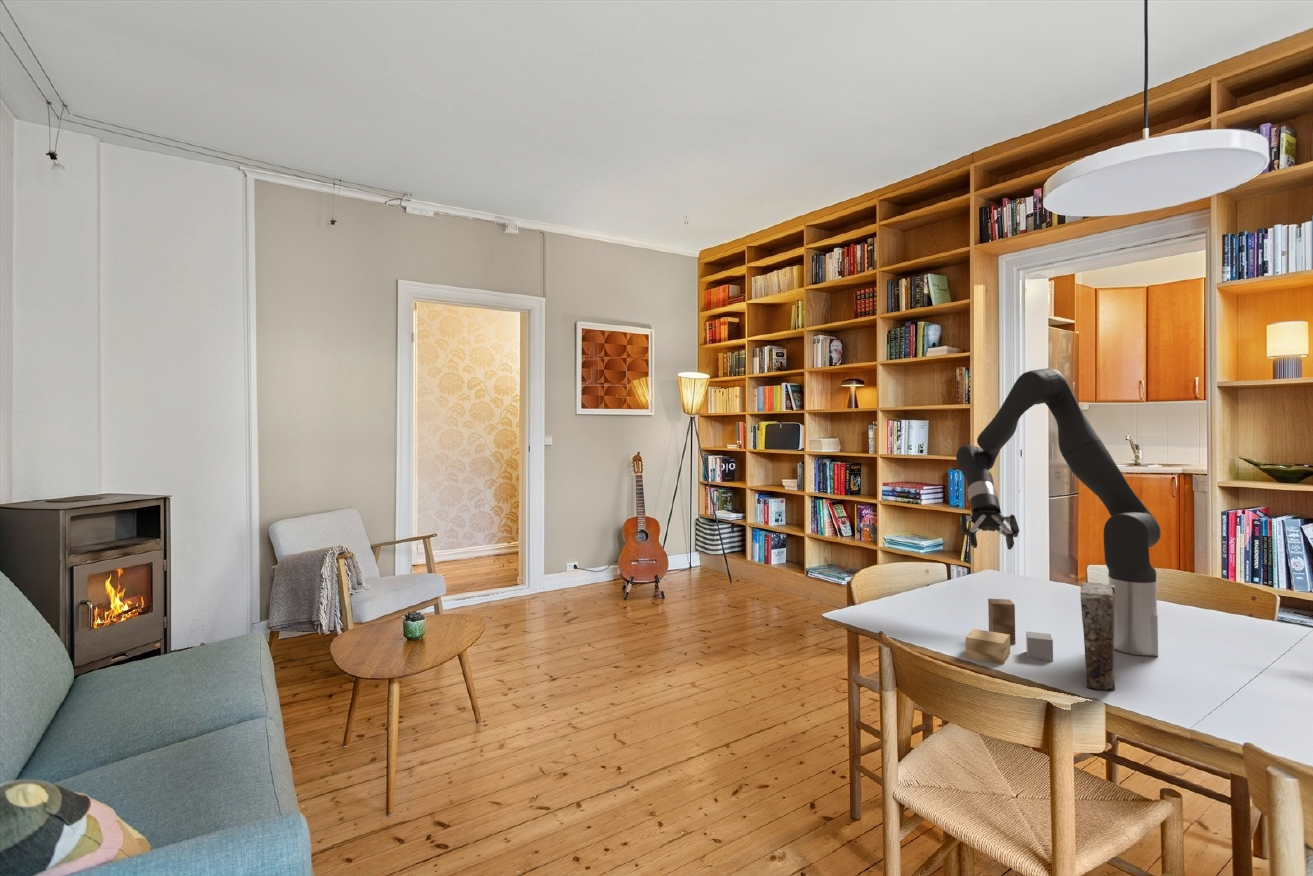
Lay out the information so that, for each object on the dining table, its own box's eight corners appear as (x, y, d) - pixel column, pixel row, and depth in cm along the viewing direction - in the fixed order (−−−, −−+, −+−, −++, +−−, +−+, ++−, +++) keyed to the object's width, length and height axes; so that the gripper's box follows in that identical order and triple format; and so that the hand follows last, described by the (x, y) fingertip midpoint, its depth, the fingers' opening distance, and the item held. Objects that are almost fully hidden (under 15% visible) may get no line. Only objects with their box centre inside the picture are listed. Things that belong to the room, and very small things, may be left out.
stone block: (1078, 668, 142) (1076, 579, 142) (1116, 673, 139) (1114, 582, 139) (1082, 689, 131) (1080, 592, 131) (1124, 695, 127) (1122, 596, 127)
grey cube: (1050, 654, 151) (1050, 634, 151) (1053, 661, 147) (1052, 640, 147) (1026, 652, 153) (1026, 631, 153) (1028, 658, 149) (1027, 637, 149)
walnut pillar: (1010, 638, 164) (1009, 599, 164) (1015, 644, 159) (1014, 604, 159) (988, 636, 165) (988, 598, 165) (993, 643, 160) (992, 603, 160)
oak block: (1010, 655, 152) (1009, 634, 152) (1003, 665, 146) (1003, 643, 146) (973, 648, 157) (973, 628, 157) (966, 658, 151) (965, 637, 151)
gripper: (958, 491, 183) (966, 538, 172) (1013, 492, 179) (1024, 540, 168) (955, 507, 188) (962, 553, 177) (1008, 509, 184) (1019, 556, 173)
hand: (992, 547), depth 172 cm, fingers open, 8 cm apart
